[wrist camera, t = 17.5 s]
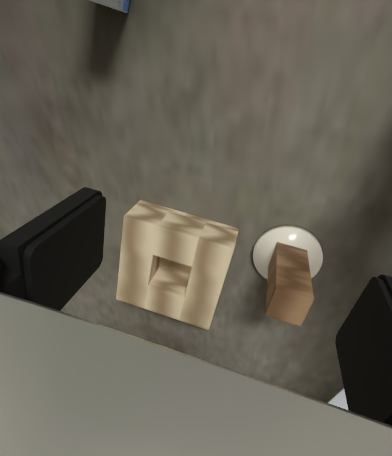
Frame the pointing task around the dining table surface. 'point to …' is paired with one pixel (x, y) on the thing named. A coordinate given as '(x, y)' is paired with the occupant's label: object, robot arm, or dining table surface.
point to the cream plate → (289, 237)
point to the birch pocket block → (174, 262)
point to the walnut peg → (289, 284)
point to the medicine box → (115, 4)
